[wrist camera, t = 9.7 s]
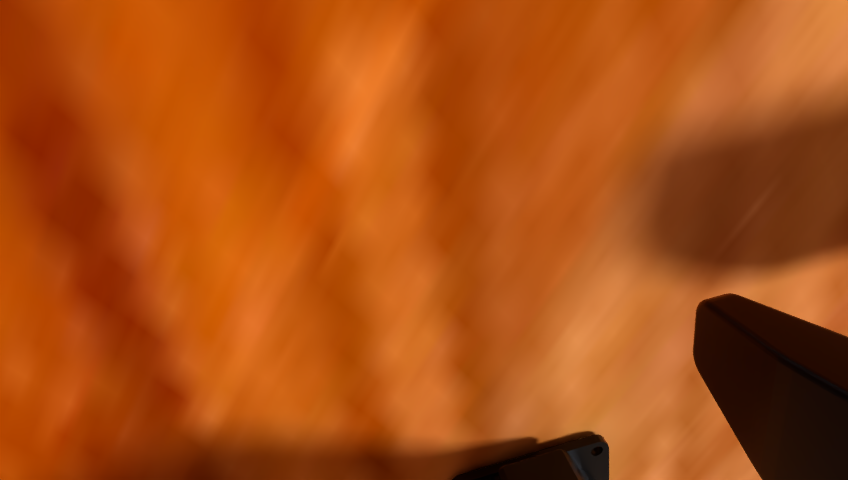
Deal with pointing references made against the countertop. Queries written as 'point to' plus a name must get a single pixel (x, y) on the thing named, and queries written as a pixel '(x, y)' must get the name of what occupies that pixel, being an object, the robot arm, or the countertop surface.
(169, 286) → the countertop surface
